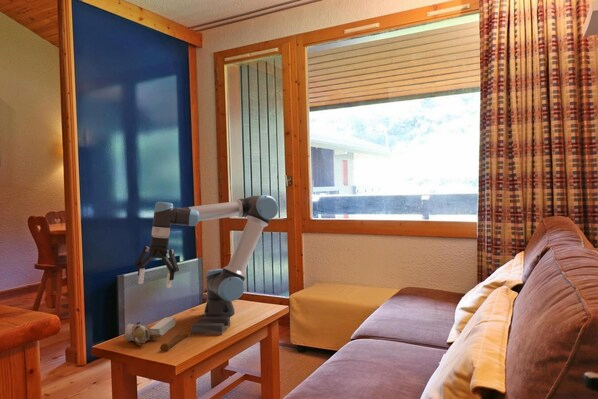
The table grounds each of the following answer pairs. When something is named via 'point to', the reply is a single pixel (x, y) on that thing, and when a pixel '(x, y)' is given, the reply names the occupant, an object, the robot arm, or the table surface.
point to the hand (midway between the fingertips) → (154, 285)
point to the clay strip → (163, 325)
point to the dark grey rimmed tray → (211, 325)
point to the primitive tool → (172, 342)
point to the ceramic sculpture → (139, 333)
